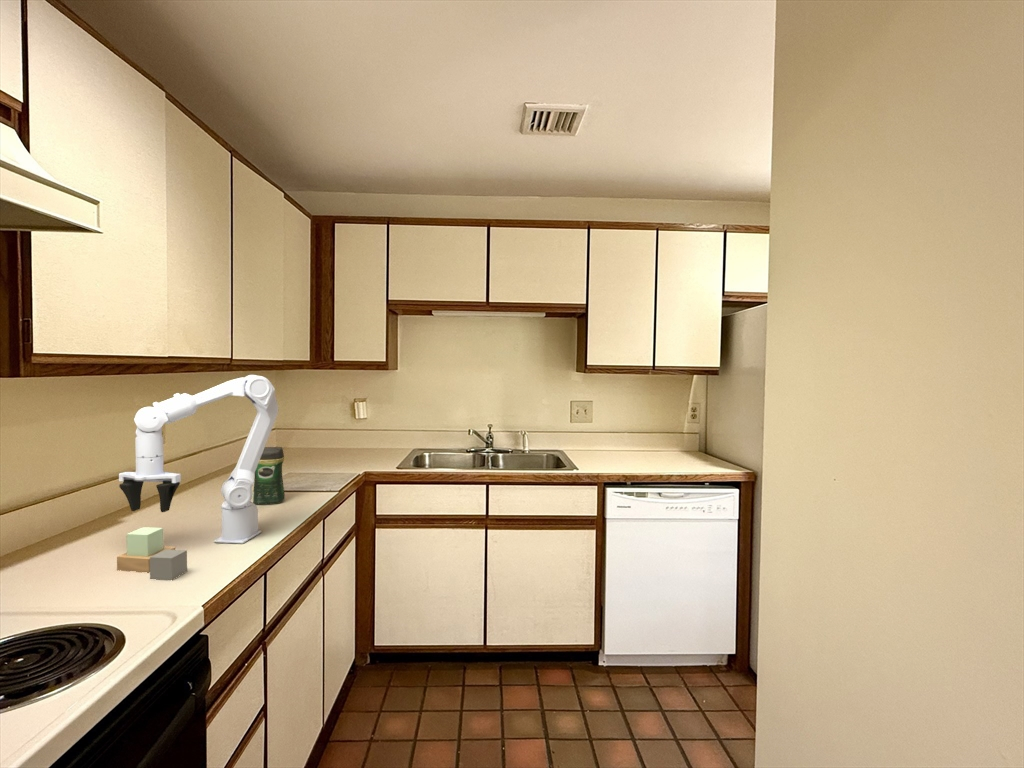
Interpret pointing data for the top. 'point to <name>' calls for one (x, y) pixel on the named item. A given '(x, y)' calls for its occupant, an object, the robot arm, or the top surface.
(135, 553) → the sage cube
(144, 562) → the walnut base
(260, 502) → the coffee jar
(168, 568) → the charcoal cube
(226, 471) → the top surface
